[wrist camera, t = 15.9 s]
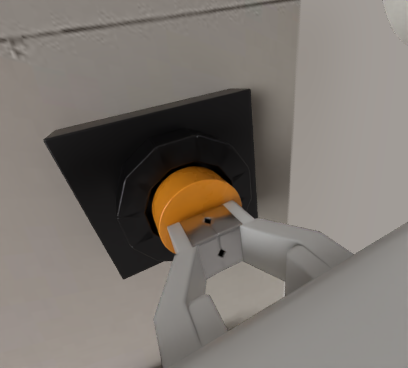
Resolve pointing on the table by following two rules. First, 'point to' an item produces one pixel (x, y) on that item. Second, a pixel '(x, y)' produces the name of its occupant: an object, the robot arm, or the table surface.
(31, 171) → the table surface
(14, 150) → the table surface
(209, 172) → the light button
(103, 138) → the switch box
